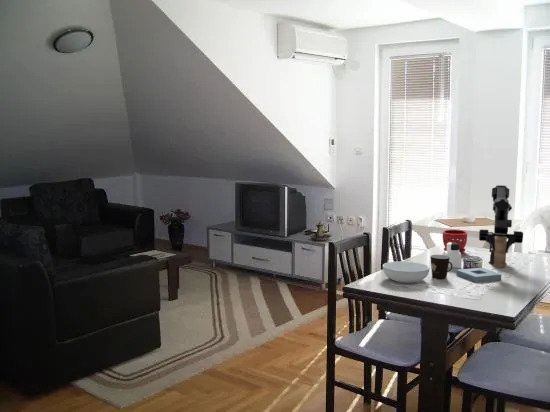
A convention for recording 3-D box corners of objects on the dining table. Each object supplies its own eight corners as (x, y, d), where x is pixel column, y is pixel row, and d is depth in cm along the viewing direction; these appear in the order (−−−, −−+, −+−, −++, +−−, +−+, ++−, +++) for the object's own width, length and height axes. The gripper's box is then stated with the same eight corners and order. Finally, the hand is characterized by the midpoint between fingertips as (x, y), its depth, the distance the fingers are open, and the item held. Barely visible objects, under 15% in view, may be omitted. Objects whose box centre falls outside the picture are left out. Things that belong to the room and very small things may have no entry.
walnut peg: (498, 265, 264) (499, 235, 262) (507, 267, 260) (509, 237, 258) (491, 266, 261) (492, 236, 260) (500, 268, 257) (502, 238, 256)
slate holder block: (481, 272, 274) (481, 267, 274) (501, 279, 261) (501, 274, 261) (456, 275, 270) (456, 269, 270) (475, 282, 257) (475, 276, 257)
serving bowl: (439, 282, 257) (439, 267, 256) (404, 289, 246) (405, 273, 245) (406, 272, 275) (406, 258, 274) (372, 278, 264) (373, 264, 263)
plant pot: (440, 249, 328) (440, 229, 326) (463, 250, 327) (464, 229, 325) (444, 254, 315) (445, 233, 313) (468, 255, 314) (469, 233, 312)
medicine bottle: (458, 264, 291) (458, 241, 290) (461, 268, 284) (462, 244, 282) (443, 264, 292) (444, 241, 290) (446, 267, 285) (447, 244, 283)
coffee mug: (427, 275, 270) (428, 254, 268) (445, 275, 270) (446, 254, 268) (434, 281, 258) (435, 260, 257) (453, 281, 258) (454, 260, 257)
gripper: (480, 212, 265) (478, 239, 256) (524, 214, 258) (524, 242, 249) (479, 226, 273) (478, 253, 264) (522, 228, 266) (522, 256, 258)
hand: (500, 251), depth 259 cm, fingers closed on walnut peg, 5 cm apart
